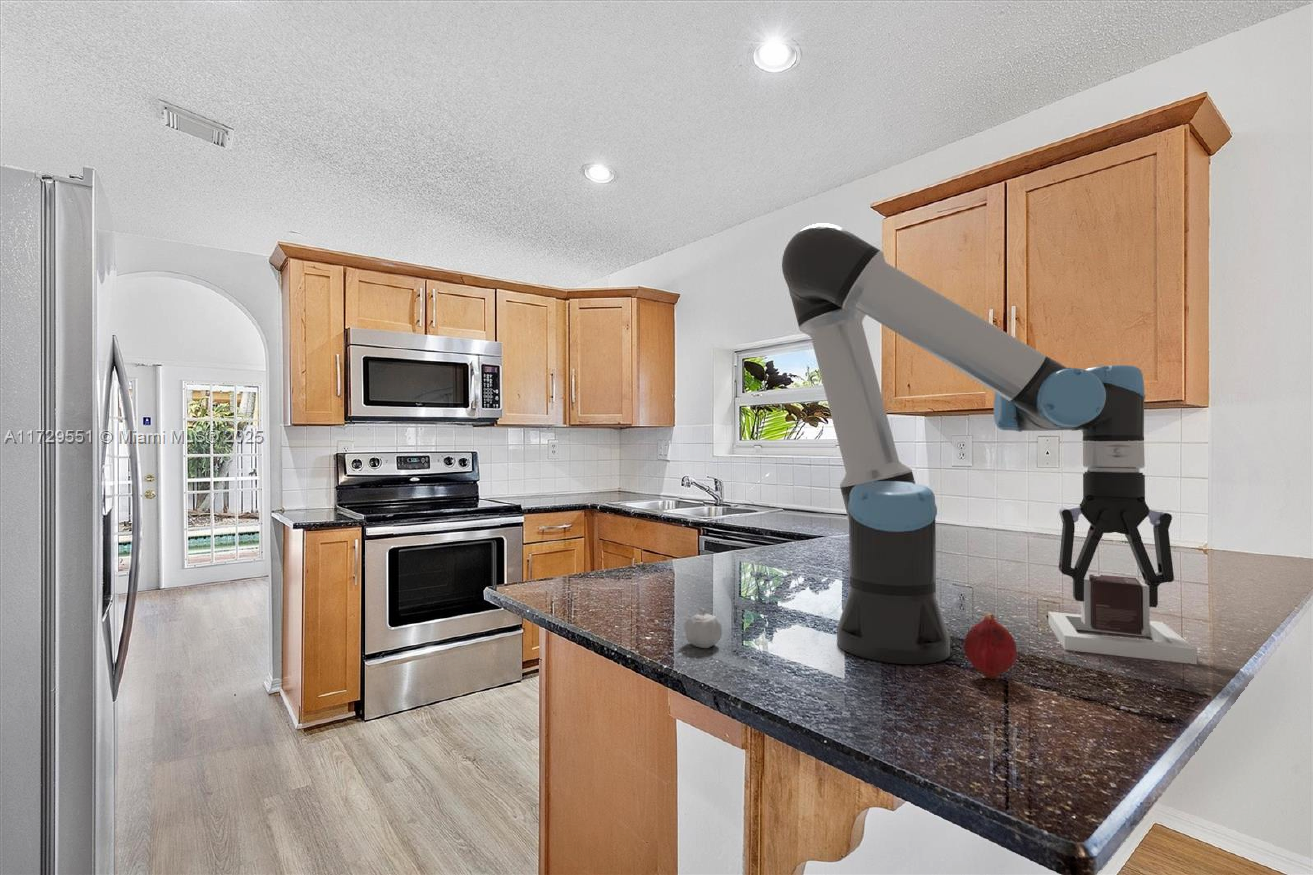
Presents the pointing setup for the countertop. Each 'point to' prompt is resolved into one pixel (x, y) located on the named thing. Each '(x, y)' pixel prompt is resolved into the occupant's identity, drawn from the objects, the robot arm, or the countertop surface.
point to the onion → (990, 647)
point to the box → (1116, 604)
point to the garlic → (703, 630)
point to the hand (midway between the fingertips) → (1114, 625)
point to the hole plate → (1122, 641)
